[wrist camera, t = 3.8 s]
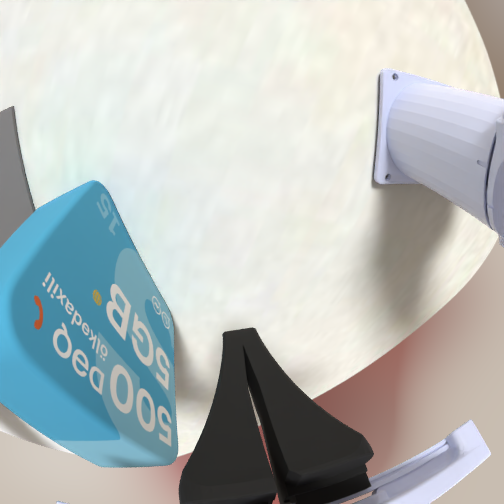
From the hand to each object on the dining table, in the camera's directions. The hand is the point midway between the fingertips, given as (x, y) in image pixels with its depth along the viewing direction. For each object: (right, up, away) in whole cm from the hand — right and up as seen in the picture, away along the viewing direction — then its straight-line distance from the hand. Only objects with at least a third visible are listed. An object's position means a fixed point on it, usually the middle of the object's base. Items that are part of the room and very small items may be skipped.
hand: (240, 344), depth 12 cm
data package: (-9, +3, +6) cm, 11 cm away
